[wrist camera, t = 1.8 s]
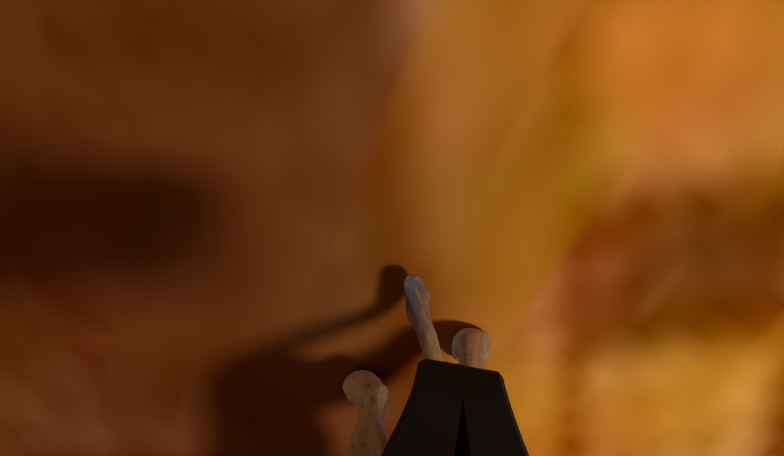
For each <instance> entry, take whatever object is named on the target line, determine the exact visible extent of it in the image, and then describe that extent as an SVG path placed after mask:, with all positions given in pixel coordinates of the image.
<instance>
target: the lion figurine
mask: <svg viewBox="0 0 784 456" xmlns="http://www.w3.org/2000/svg"><path fill="white" fill-rule="evenodd" d="M404 292H405V296H406V311H407V316H408V318H409V320H410V322H411V323H412V325H413V327H414V329H415V331H416V334H417V336H418V339H419V343H420V346H421V350H422V354H423V360H424V359H426V358H427V359H432V360H438V361H443V358H442V354H441V350H440V345H439V341H438V337H437V334H436V331H435V329H434V326H433V323H432V320H431V315H430V309H429V306H430V294H429V293H428V292H427V291H426V289H425V286H424V283H423V281H422V280H421V279H420V278H419V277H417V276H414V275H411V276H407V277H406V278H405V279H404ZM489 353H490V337H489V335H488V334H487V333H486V332H485V331H483V330H481V329H476V328H464V329H462V330H460V331H459V332H458V333H457V334H456V335H455V337H454V339H453V342H452V355H453V357H454V358H455V359H456V360H457V361H459V365H464V366H470V367H475V368H480V369H486V365H485V359H486V358H487V357H488V356H489ZM343 391H344V392H345V395H346V397H347V399H348V400H350V401H351V402H352V403H354V404H356V405H360V409H359V415H358V419H357V422H356V426H355V429H354V432H353V435H352V438H351V440H350V443H349V447H348V450H347V455H346V456H381V454H382V452H383V451H384V449H385V447H386V445H387V443H388V441H389V438H388V434H387V430H386V427H385V423H384V420H383V418H384V413H385V409H386V408H387V406H388V402H389V396H388V390H387V387H386V386H385V385H383V384H382V382H381V380H380V379H379V378H378V377H377V376H376V375H375V374H374V373H372V372H369V371H365V370H357V371H354V372H352V373H351V374H349V375H348V376H347V377H346V378H345V380H344V383H343Z"/></svg>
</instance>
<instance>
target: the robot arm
mask: <svg viewBox="0 0 784 456" xmlns="http://www.w3.org/2000/svg"><path fill="white" fill-rule="evenodd" d="M381 456H529V454H528V452H527V449H526V447H525V444H524V442H523V439H522V436H521V434H520V431H519V428H518V425H517V422H516V420H515V417H514V414H513V411H512V408H511V405H510V401H509V398H508V395H507V391H506V388H505V384H504V380H503V378H502V376H501V375H500V373H499V372H497V371H491V370H486V369H480V368H475V367H470V366H464V365H459V364H454V363H448V362H443V361H438V360H432V359H427V358H426V359H424V360H422V361H420V362H418V366H417V371H416V375H415V380H414V385H413V388H412V391H411V393H410V396H409V399H408V401H407V403H406V406H405V408H404V410H403V413H402V415H401V417H400V419H399V421H398V423H397V425H396V427H395V429H394V431H393V433H392V435H391V437H390V439H389V441H388V443H387V445H386V447H385V449H384V451H383V452H382V454H381Z"/></svg>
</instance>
